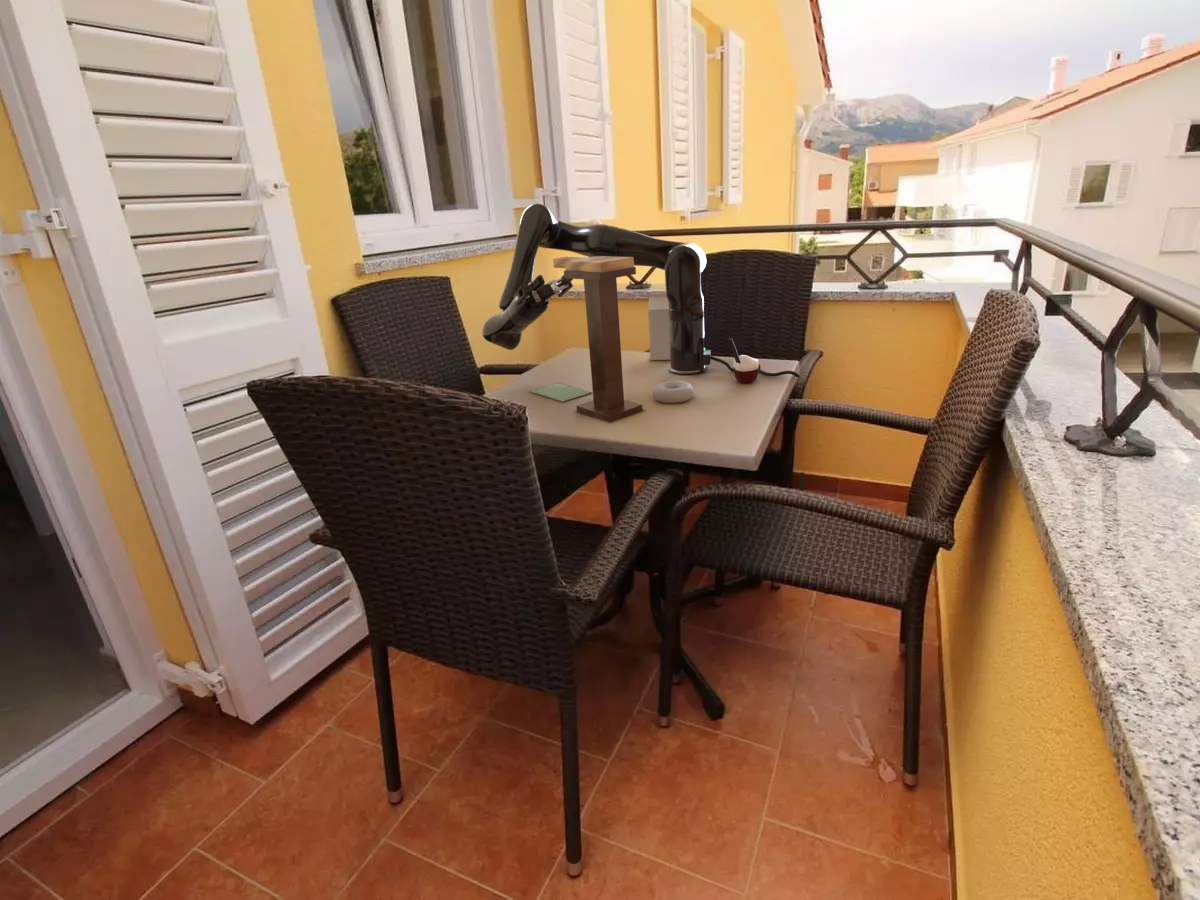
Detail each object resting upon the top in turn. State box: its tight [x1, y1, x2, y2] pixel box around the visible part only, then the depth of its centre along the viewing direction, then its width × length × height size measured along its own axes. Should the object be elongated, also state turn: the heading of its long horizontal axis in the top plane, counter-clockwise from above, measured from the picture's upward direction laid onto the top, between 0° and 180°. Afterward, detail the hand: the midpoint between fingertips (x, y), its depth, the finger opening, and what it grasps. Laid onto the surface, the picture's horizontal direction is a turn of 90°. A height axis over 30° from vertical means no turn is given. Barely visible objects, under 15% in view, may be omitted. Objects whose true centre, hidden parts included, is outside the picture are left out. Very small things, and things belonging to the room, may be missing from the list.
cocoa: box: [727, 337, 762, 384], centre depth 157 cm, size 10×6×12 cm, turn 96°
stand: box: [563, 266, 644, 423], centre depth 139 cm, size 12×10×32 cm
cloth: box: [530, 382, 592, 403], centre depth 162 cm, size 14×9×1 cm, turn 40°
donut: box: [651, 380, 695, 404], centre depth 150 cm, size 10×4×10 cm
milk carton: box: [647, 292, 670, 361], centre depth 184 cm, size 7×7×19 cm
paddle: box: [552, 256, 635, 273], centre depth 136 cm, size 20×9×2 cm, turn 40°
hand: (557, 276), depth 145 cm, fingers open, 8 cm apart
